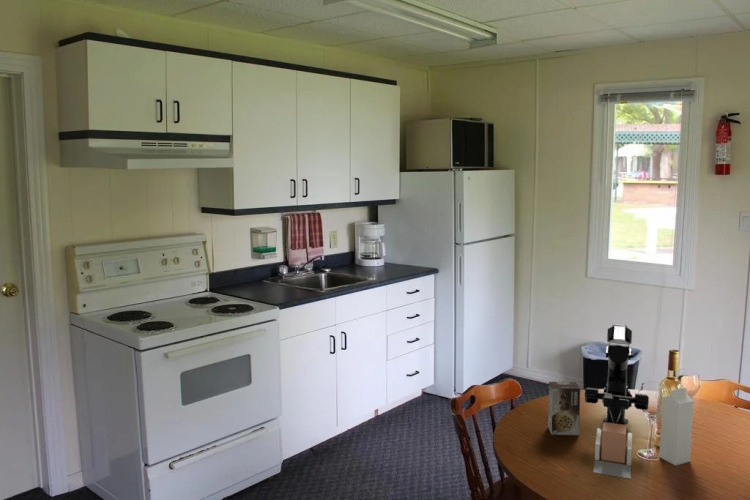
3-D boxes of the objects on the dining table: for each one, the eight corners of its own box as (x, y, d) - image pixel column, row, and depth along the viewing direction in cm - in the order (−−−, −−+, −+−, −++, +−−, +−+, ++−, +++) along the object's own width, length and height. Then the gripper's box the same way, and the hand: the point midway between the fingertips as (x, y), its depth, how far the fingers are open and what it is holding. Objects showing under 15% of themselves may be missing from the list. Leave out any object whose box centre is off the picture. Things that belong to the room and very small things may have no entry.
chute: (596, 443, 199) (597, 428, 198) (631, 448, 195) (631, 433, 194) (593, 472, 180) (593, 456, 179) (631, 478, 176) (631, 462, 175)
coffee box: (575, 427, 210) (576, 381, 208) (579, 435, 204) (581, 388, 202) (547, 426, 211) (548, 380, 209) (550, 435, 205) (552, 387, 203)
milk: (690, 462, 186) (695, 390, 183) (675, 466, 183) (680, 393, 180) (673, 453, 191) (677, 384, 188) (658, 457, 189) (663, 387, 186)
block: (602, 449, 194) (603, 422, 193) (624, 453, 191) (626, 425, 190) (601, 459, 187) (602, 430, 186) (624, 463, 185) (625, 434, 184)
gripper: (647, 393, 204) (646, 438, 196) (587, 386, 211) (583, 429, 203) (649, 377, 196) (648, 424, 187) (586, 370, 203) (582, 415, 195)
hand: (614, 423), depth 193 cm, fingers closed
